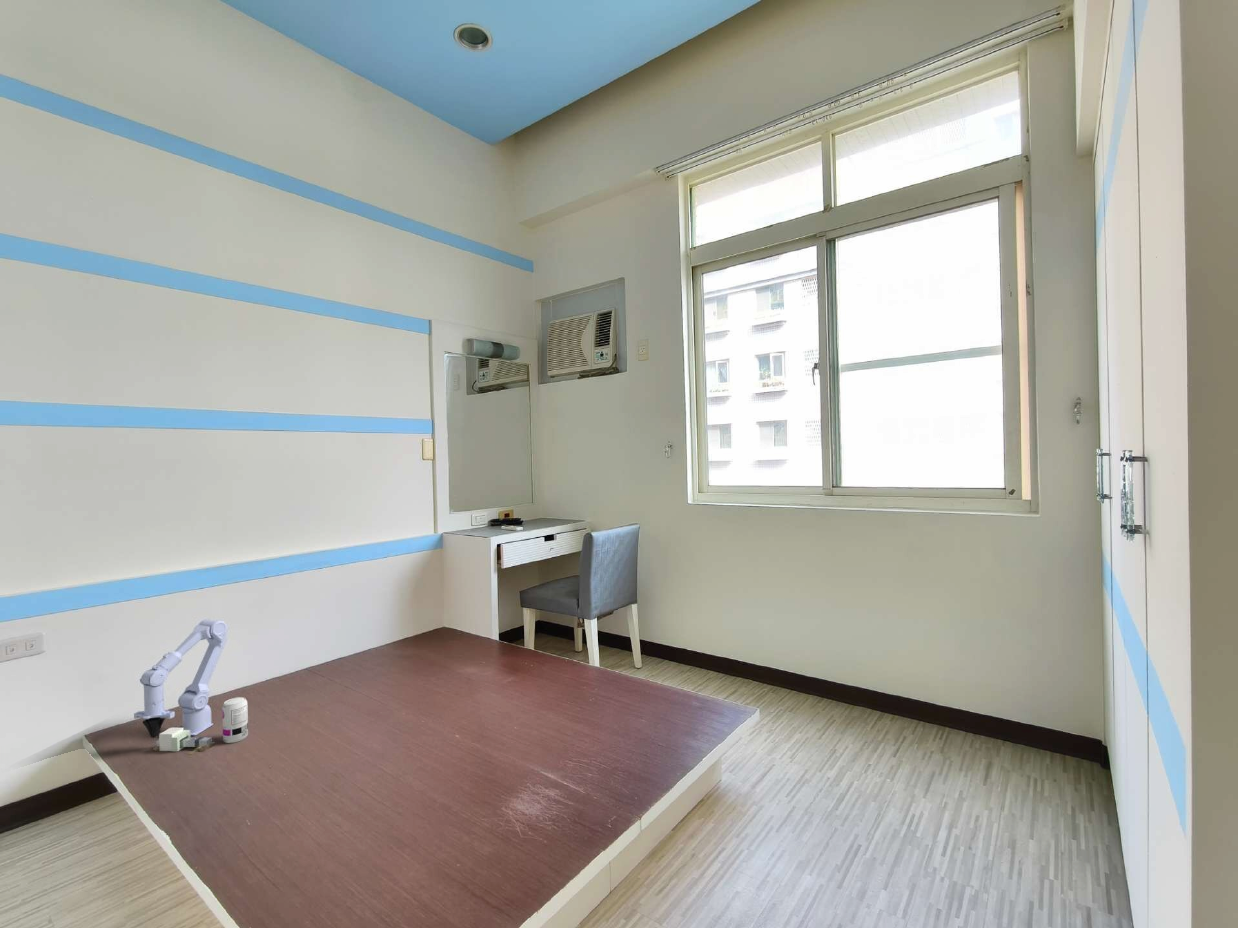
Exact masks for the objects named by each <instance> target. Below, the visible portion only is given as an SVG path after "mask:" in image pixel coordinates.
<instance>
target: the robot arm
mask: <svg viewBox="0 0 1238 928" xmlns="http://www.w3.org/2000/svg"><path fill="white" fill-rule="evenodd" d="M228 630H229V626H228V625H227V624H226V622H225V621H223V620H215V619H210V618H206V619H203V620H201V621H200V622H199V623H198V624H197V625H195V626H194V628H193V630H192V632H191V633H190V634H189V635H188V636H187V637H186V638H185V639H184V640H183V641H182V642H181V643H180V645H178V646H177V648H176V649H175V650H174V651H170V652H169V651H168V652H167V653H165V654H163V656H162V658H161V659H160V660H159V661H158V662H157V663H156V664H154V665H153V666H152V667H151V668H150V669H147V670H146V671H144V673H143V674H142V675H141V677H140V679H139V682H140V684H142V685H143V701H144V702H143V703H144V706H143V707H144V708H143V709H144V710H142V711H137V712H134V714H133V719H135V720H136V719H143V721H142V725H144V726H145V728H146V729H147V731H148V733H149V736H150V738H151V739H154V738H157V737H159V734H160V733H161V728H162V725H163V724H164V721H165V720H166V719H169V720H170V719H173V718H175V716H176V714H175V711H171V710H167V709H165V701H164V699H165V698H164V697H165V696H164V693H165V692H164V683H165V682H166V681H167V678H168V676H169V674H170V673H171V672H172V671H173V670H174V669H175V668H176V667H177V666H178V665H179V664H180V663H181V662H182V660H183V656H184V655H185V654H187V653H188V651H190V650H191V649H192V648H193V647H195V646H196V645H197V644H198V643H199V642H200V641H204V640H206V641H207V643H208V647H207V648H206V651H205V653H204V655H203V658H202V660H201V662H200V665H199V667H198V670H197V671H196V674H195V676H194V678H193V680H192V682H191V683H190V684H189V685H188V686H186V687H185V689H184V691H183V692H182V693H181V694H180V696H179V697H178V700H177V705H178V706H179V707H181V712H182V715H181V716H182V728H183V730H190V736H198V735H199V734H201V733H203V732H204V731H205V730H207V729H208V728H210V727H211V726H213V725H214V723H213V722H212V709H211V707H210V705H209V704H208V702H209V695H210V693H211V691H210V688H209V686H208V685H209V684H210V682H211V678H212V676H213V673H214V671H215V669H216V667H217V664H218V662H219V660H220V658H221V655H222V653H223V650H224V649H225V646H226V643H227V632H228Z"/></svg>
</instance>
